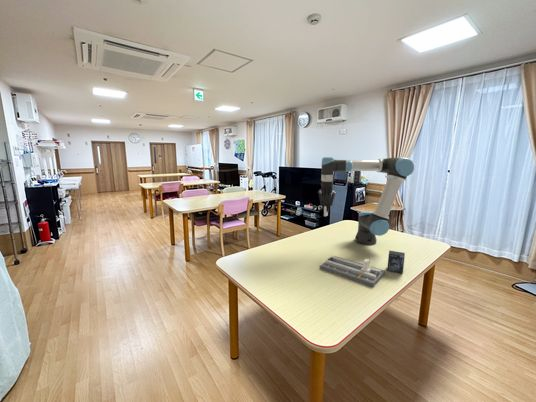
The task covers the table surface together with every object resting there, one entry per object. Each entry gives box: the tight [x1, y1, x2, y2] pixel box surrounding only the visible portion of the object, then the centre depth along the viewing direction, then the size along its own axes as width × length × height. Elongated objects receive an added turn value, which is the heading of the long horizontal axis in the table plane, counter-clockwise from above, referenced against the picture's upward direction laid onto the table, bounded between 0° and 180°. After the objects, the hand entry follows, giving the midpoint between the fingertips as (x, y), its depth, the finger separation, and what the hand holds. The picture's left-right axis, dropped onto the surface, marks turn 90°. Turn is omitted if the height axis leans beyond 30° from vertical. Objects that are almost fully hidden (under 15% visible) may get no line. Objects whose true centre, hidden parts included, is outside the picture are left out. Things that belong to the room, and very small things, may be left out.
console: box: [319, 255, 386, 288], centre depth 134 cm, size 18×30×4 cm, turn 48°
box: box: [386, 250, 406, 275], centre depth 134 cm, size 8×6×11 cm
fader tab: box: [361, 258, 371, 273], centre depth 128 cm, size 4×4×7 cm
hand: (325, 215), depth 161 cm, fingers closed
